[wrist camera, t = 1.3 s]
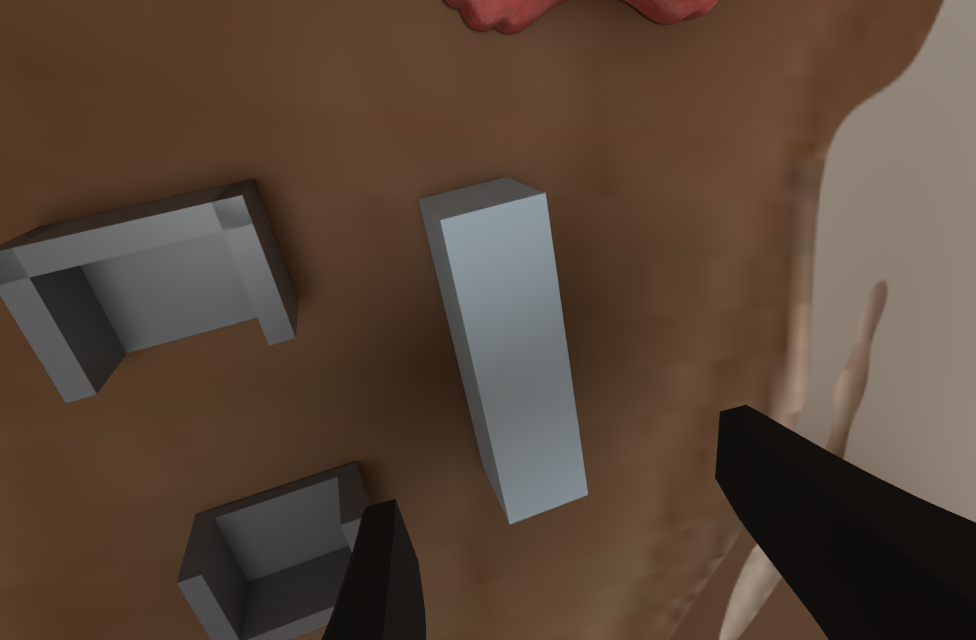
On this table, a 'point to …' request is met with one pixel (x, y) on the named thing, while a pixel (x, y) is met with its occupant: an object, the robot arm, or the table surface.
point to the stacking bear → (517, 3)
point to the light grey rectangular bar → (509, 340)
